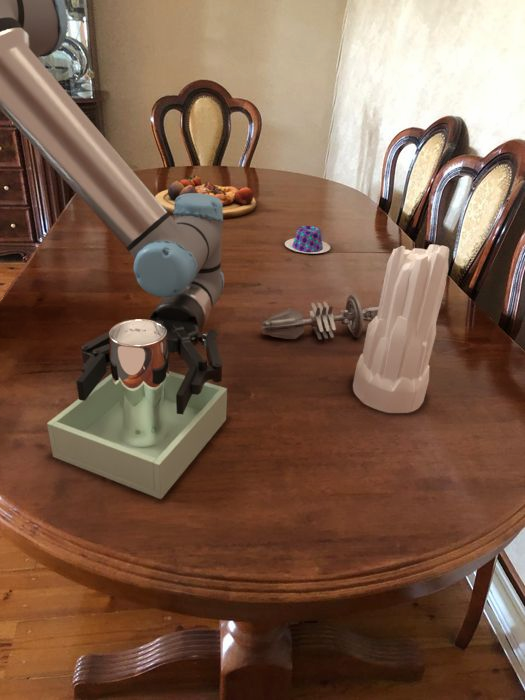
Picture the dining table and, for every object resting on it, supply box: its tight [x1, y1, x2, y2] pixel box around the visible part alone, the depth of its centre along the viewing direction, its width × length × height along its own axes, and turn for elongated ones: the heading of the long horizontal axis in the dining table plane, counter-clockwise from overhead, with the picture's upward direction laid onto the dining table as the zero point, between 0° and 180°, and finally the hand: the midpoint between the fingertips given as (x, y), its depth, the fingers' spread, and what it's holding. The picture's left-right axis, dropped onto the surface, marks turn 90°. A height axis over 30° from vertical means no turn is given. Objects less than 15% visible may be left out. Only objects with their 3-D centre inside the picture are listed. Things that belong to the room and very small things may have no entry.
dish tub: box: [46, 370, 228, 500], centre depth 68 cm, size 16×17×6 cm
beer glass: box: [109, 318, 170, 447], centre depth 65 cm, size 7×7×15 cm
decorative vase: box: [352, 243, 450, 414], centre depth 75 cm, size 11×11×25 cm
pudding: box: [284, 225, 331, 255], centre depth 136 cm, size 12×12×5 cm
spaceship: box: [260, 293, 447, 340], centre depth 96 cm, size 8×35×8 cm
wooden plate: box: [154, 174, 257, 219], centre depth 165 cm, size 32×32×8 cm
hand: (129, 397), depth 61 cm, fingers open, 11 cm apart
